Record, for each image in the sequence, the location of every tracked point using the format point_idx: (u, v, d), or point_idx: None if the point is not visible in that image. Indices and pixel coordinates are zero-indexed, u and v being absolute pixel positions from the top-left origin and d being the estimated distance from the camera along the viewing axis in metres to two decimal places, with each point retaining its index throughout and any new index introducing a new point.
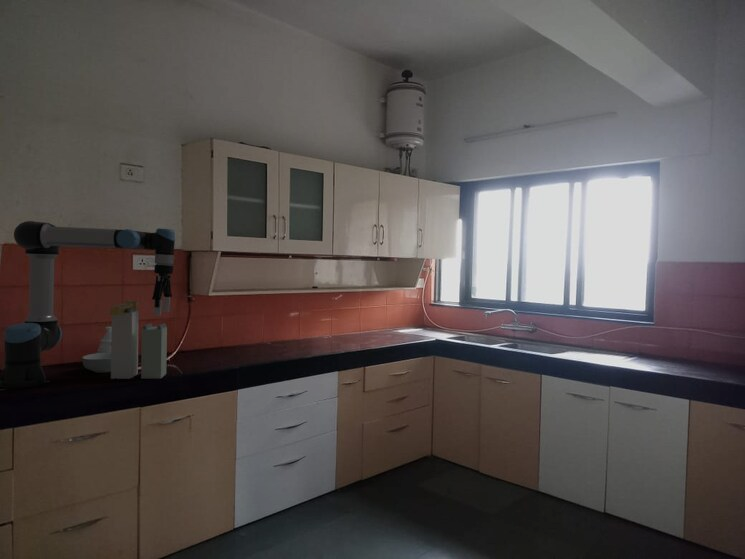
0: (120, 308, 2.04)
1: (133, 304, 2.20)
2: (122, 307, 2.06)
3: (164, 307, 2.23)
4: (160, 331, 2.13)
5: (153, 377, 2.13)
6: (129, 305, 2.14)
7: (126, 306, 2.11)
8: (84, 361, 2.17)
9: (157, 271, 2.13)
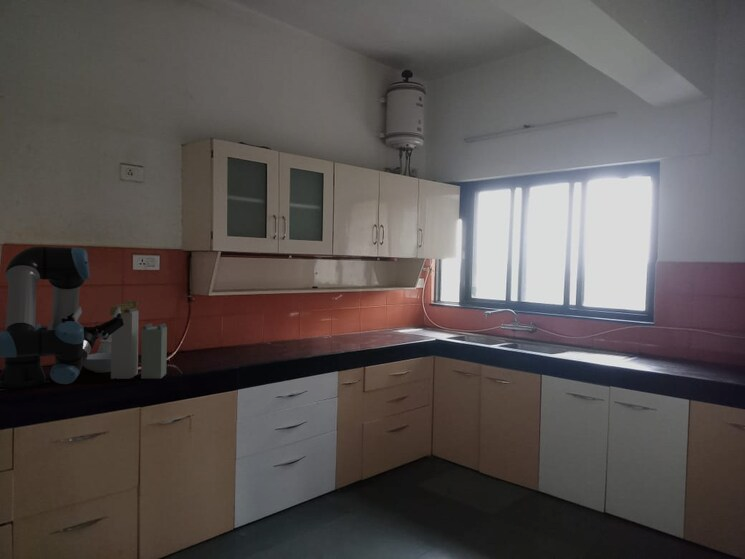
0: (120, 308, 2.04)
1: (133, 304, 2.20)
2: (122, 307, 2.06)
3: None
4: (160, 331, 2.13)
5: (153, 377, 2.13)
6: (129, 305, 2.14)
7: (126, 306, 2.11)
8: None
9: None
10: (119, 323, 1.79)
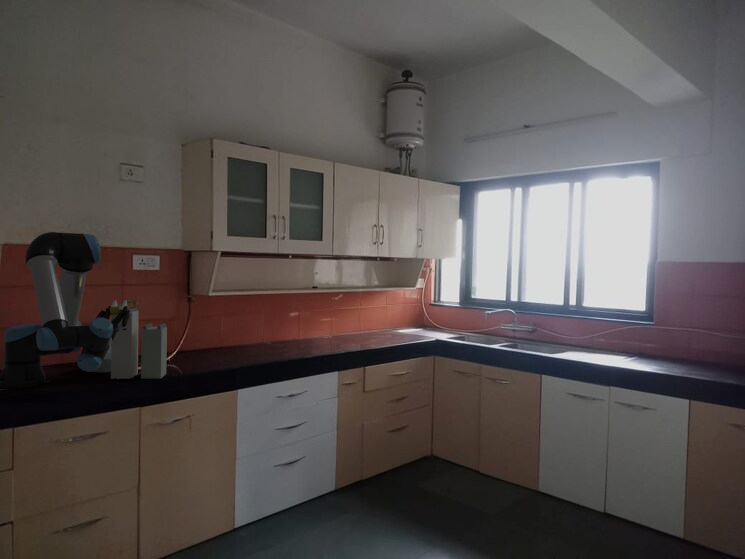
0: None
1: (133, 304, 2.20)
2: None
3: None
4: (160, 331, 2.13)
5: (153, 377, 2.13)
6: (129, 305, 2.14)
7: None
8: None
9: None
10: (128, 314, 2.01)
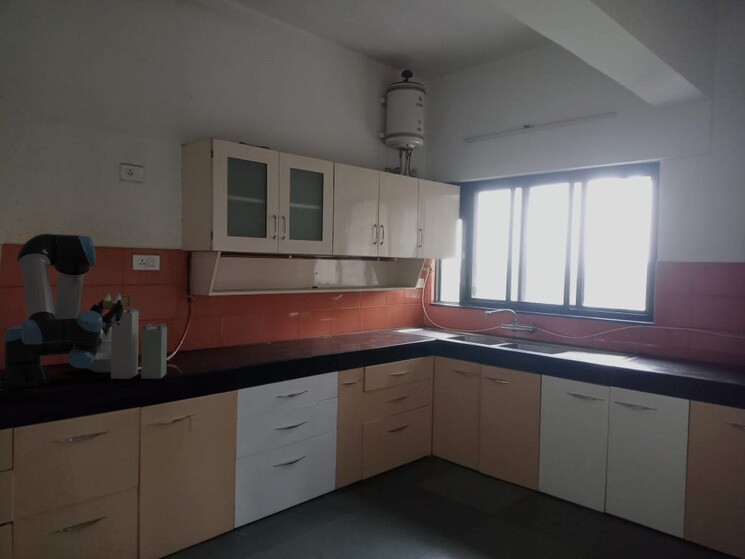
0: None
1: (127, 298, 2.11)
2: None
3: None
4: (160, 331, 2.13)
5: (153, 377, 2.13)
6: (123, 299, 2.05)
7: None
8: None
9: None
10: (121, 309, 1.92)
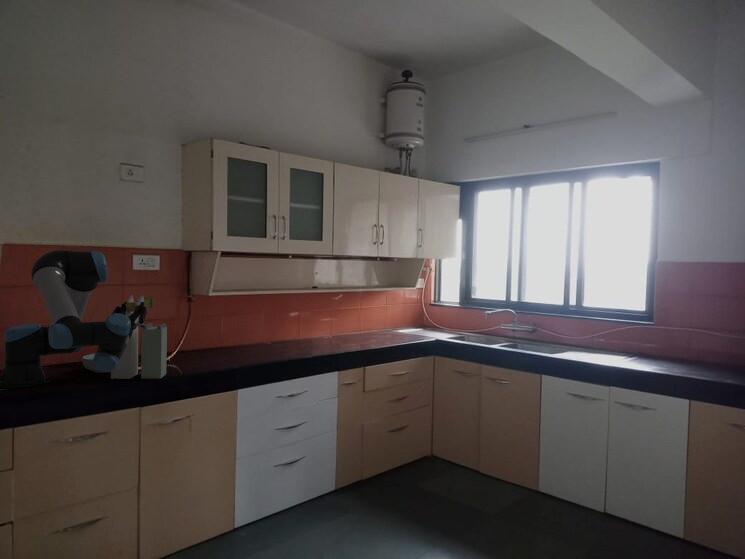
0: None
1: (150, 300, 2.06)
2: None
3: None
4: (160, 331, 2.13)
5: (153, 377, 2.13)
6: (146, 301, 2.01)
7: None
8: (84, 361, 2.17)
9: None
10: (145, 311, 1.88)
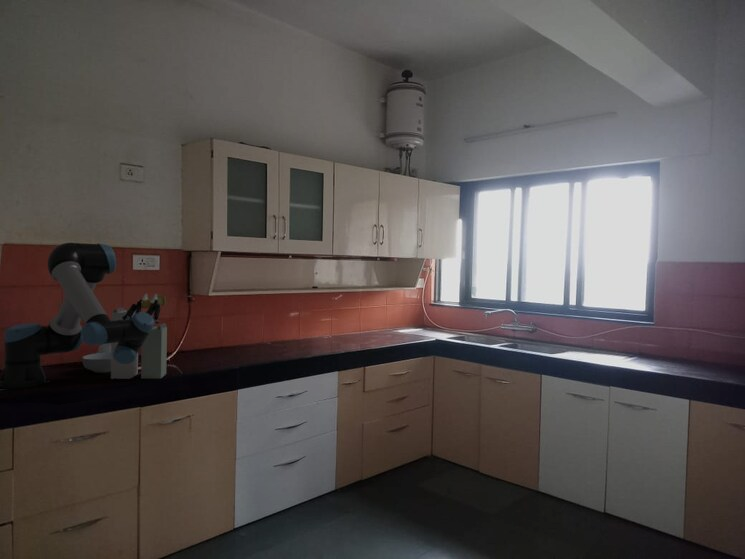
0: None
1: (162, 298, 2.21)
2: None
3: None
4: (160, 331, 2.13)
5: (153, 377, 2.13)
6: (159, 299, 2.15)
7: None
8: (84, 361, 2.17)
9: None
10: (159, 308, 2.02)
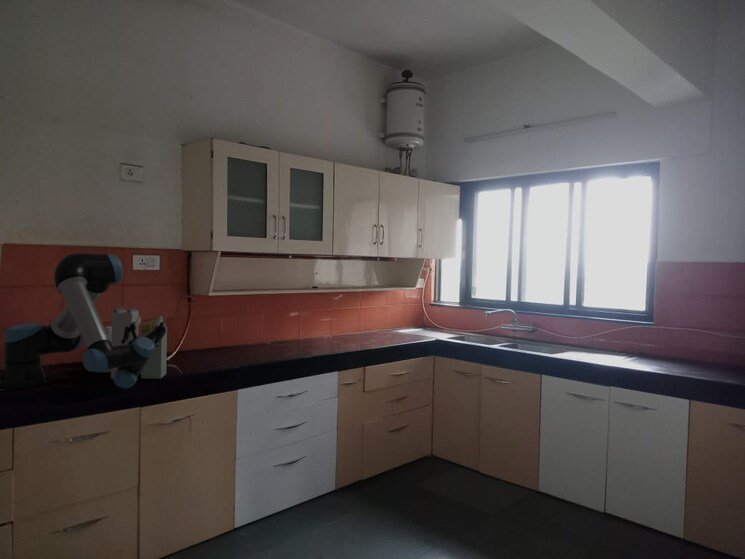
0: (151, 326, 2.06)
1: None
2: (152, 324, 2.08)
3: None
4: None
5: (153, 377, 2.13)
6: None
7: (156, 323, 2.13)
8: None
9: None
10: (163, 331, 2.03)
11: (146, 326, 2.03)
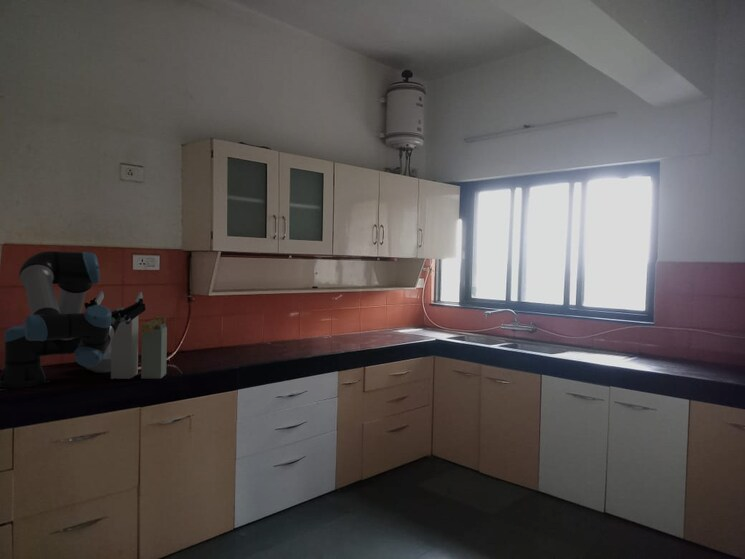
0: (151, 326, 2.06)
1: (161, 320, 2.22)
2: (152, 324, 2.08)
3: None
4: (160, 331, 2.13)
5: (153, 377, 2.13)
6: (158, 322, 2.17)
7: (156, 323, 2.13)
8: None
9: None
10: (141, 308, 1.79)
11: (146, 326, 2.03)
